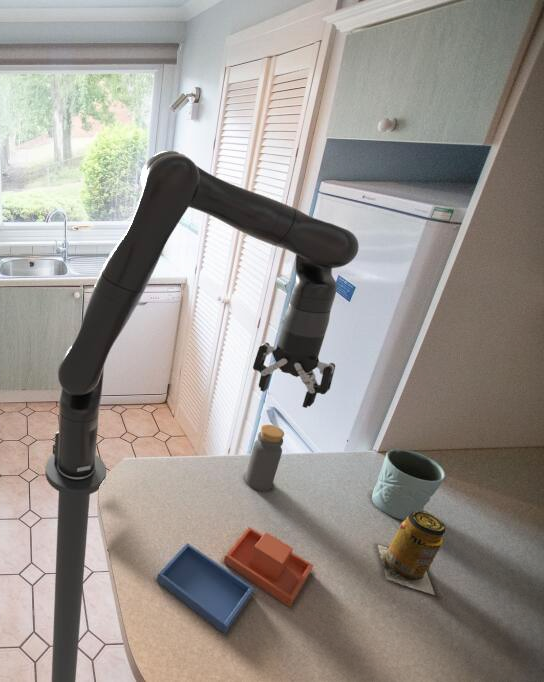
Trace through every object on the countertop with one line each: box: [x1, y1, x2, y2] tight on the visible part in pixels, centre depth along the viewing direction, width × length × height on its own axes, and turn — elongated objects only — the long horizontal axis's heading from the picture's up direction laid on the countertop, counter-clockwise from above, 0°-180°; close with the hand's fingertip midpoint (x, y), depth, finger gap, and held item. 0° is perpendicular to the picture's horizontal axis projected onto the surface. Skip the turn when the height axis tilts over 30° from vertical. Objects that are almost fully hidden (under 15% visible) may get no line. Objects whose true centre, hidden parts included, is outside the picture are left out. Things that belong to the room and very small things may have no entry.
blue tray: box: [156, 542, 255, 635], centre depth 82 cm, size 13×10×2 cm
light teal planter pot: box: [371, 448, 446, 521], centre depth 98 cm, size 10×10×12 cm
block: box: [249, 532, 294, 582], centre depth 85 cm, size 5×5×5 cm
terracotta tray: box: [223, 526, 314, 608], centre depth 86 cm, size 12×10×2 cm
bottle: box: [244, 424, 285, 492], centre depth 104 cm, size 6×6×15 cm
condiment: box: [377, 510, 447, 596], centre depth 84 cm, size 7×8×12 cm
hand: (283, 397), depth 96 cm, fingers open, 8 cm apart
